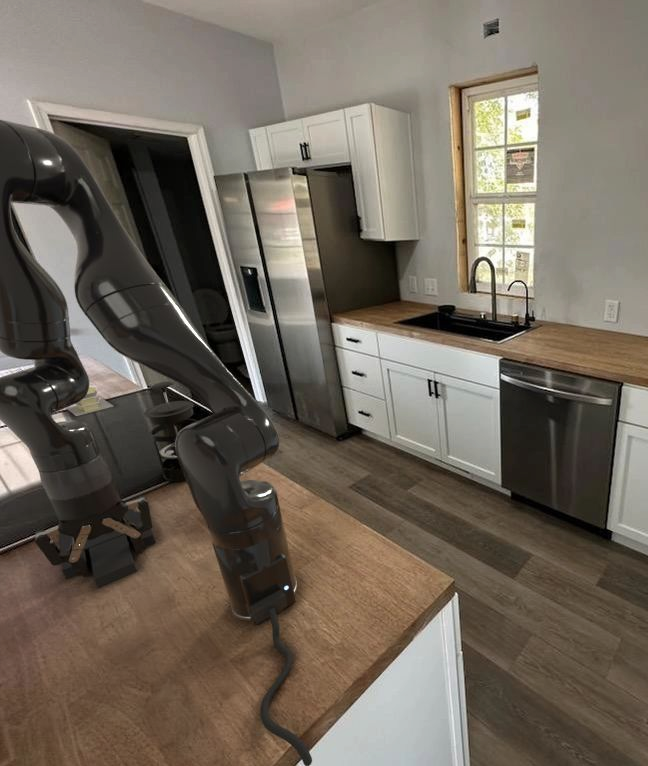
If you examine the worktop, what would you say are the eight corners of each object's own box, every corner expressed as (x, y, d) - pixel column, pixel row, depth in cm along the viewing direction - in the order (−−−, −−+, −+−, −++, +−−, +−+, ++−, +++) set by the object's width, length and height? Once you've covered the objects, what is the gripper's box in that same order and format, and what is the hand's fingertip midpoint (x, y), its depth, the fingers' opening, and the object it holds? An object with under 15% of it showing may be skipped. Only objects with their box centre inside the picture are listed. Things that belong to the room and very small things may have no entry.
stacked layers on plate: (114, 406, 133) (108, 390, 131) (76, 416, 126) (69, 399, 124) (103, 399, 138) (97, 384, 136) (66, 408, 131) (59, 392, 129)
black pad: (92, 556, 75) (88, 548, 74) (128, 542, 78) (125, 534, 77) (98, 588, 68) (94, 579, 68) (137, 571, 72) (133, 562, 71)
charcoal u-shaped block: (156, 542, 78) (152, 534, 77) (66, 579, 70) (61, 570, 69) (143, 509, 87) (140, 501, 86) (62, 538, 79) (58, 530, 78)
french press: (157, 471, 100) (128, 383, 91) (202, 455, 107) (179, 372, 98) (173, 490, 93) (143, 397, 85) (220, 472, 100) (196, 384, 92)
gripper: (12, 515, 60) (56, 600, 66) (141, 475, 70) (168, 552, 76) (14, 493, 64) (54, 574, 70) (134, 458, 74) (160, 532, 80)
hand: (113, 562), depth 73 cm, fingers open, 6 cm apart
